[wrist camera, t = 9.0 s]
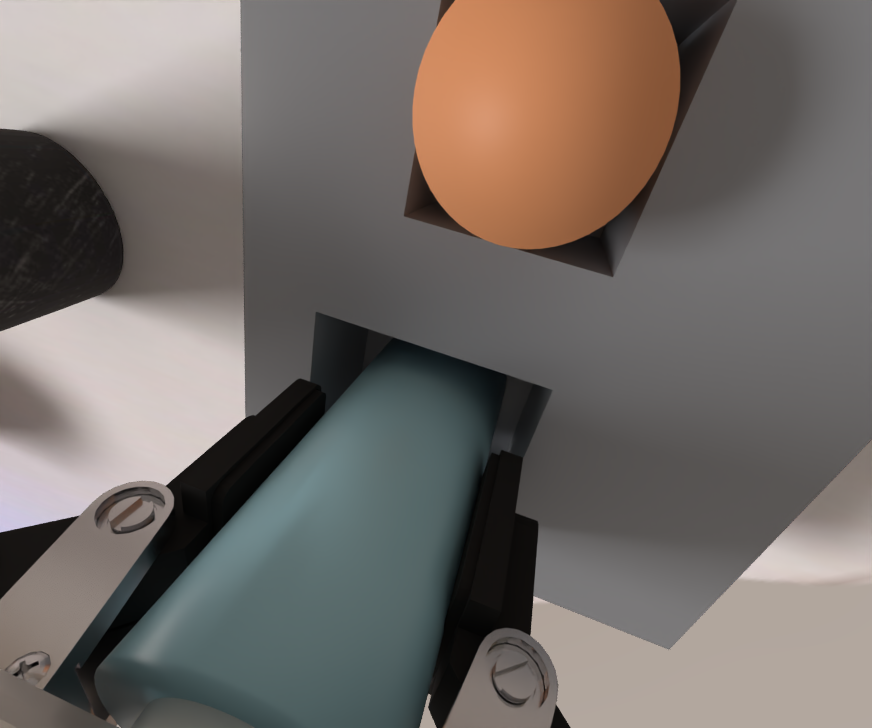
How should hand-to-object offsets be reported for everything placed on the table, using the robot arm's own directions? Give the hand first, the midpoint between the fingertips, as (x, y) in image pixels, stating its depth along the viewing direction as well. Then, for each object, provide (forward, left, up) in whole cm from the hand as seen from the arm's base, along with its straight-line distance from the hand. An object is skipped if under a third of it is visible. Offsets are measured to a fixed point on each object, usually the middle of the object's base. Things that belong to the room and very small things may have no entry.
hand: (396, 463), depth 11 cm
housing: (-4, +2, -7) cm, 8 cm away
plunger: (-8, +1, -4) cm, 9 cm away
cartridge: (0, 0, -5) cm, 5 cm away
